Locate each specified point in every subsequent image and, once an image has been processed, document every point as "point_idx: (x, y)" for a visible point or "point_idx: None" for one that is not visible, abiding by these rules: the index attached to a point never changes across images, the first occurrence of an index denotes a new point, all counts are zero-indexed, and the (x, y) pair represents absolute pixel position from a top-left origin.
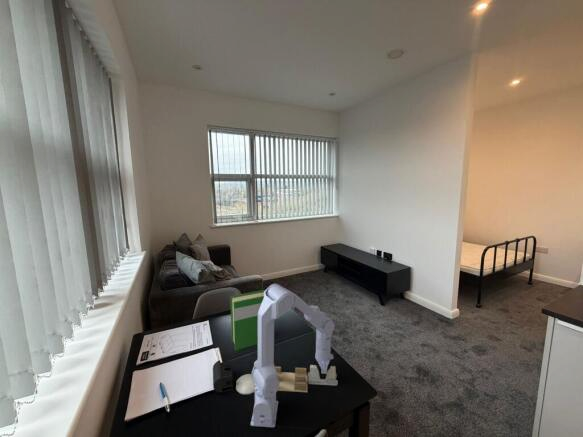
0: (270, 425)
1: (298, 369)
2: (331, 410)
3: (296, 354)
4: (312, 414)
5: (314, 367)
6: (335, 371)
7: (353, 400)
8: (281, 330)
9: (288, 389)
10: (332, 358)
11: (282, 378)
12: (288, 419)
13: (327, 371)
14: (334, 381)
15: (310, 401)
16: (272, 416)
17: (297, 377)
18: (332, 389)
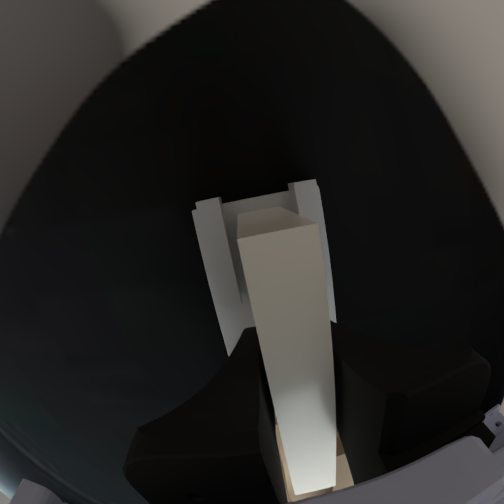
0: (499, 414)
1: (286, 491)
2: (483, 220)
3: (107, 465)
4: (493, 313)
5: (325, 469)
6: (307, 219)
7: (398, 68)
8: (33, 481)
9: None
10: (484, 459)
11: (318, 491)
12: (489, 385)
13: (395, 347)
14: (318, 214)
15: (443, 346)
16: (496, 428)
17: None
18: (350, 224)
